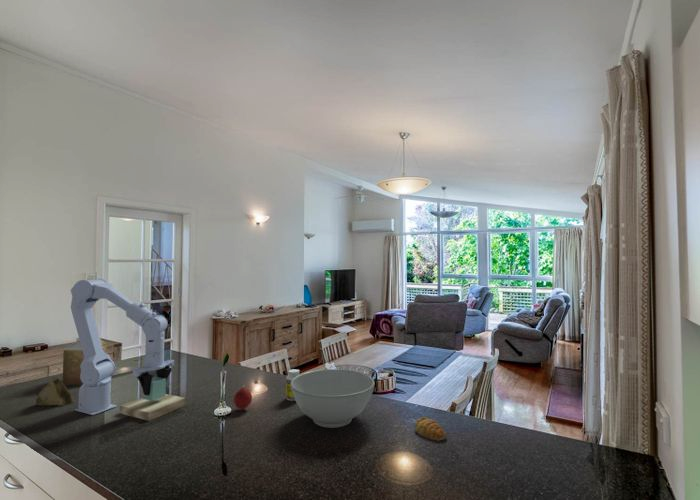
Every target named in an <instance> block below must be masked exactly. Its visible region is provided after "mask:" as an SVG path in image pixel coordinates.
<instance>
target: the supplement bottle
mask: <svg viewBox="0 0 700 500" xmlns="http://www.w3.org/2000/svg"><path fill="white" fill-rule="evenodd" d="M287 373H288V375H287V376H286V378H285V381H286V382H285V383H286V385H285V399H286V400H287V401H288V402H289V401H291V402H293V401H294V402H296V400H295V398H294V396H293V393H292V390H291V381H292V380H293V379H294V378H295V377H297V376H298V375H301V374H300V369H298V368H297V369H294V368H292V369H289V370H288V372H287Z"/></svg>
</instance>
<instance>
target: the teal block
mask: <svg viewBox="0 0 700 500" xmlns="http://www.w3.org/2000/svg"><path fill="white" fill-rule="evenodd" d="M141 391H142V394H141V395H142V396H141V398H142V399H146V400H150V401H154V400H157V399H159V398H162V397H165V396H166V394H167V393H166V391H167V381H166V378H161V377H157V376H153V378H152V381H151V389H150V395H148V396H147V395H144V393H143V389H142V390H141Z"/></svg>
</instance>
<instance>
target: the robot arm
mask: <svg viewBox="0 0 700 500" xmlns="http://www.w3.org/2000/svg"><path fill="white" fill-rule="evenodd" d="M70 294H71V304H70V309H71V314H72V318H73V320H74V321H73V322H74V325H75V328H76V331H77V336H78V337H79V340H80V343H81V347H82V350H83V354H84V360H83V361H82V363H81V365H80V368H81V374H80V379H81V381H82V383H83V385H80V387H79V390H78V403H77V404H78V408H75V411H76V412H79V413H84V414H87V415H90V416H95V415H97V414H100V413H102V412H105V411H108V410H111V409H114V408H117V405H116V404H112V403H111V394H112V393H111V391H112V390H111V389H112V387H111V385H112V384H111V383H112V376H113V375H115V373H116V369H117V368H116V363H114V361H113V360H112V359H111V356H110V354H108V353H107V352H106V353H105V352H104V351H103V348H102V344H101V341H100V339H101V338H100V334H99V330H98V328H97V323H96V319H95V316H94V313H93V309H92V308H93V306H95V304H96V303H97V302H98V301H99V300H100V299H102V300H103V299H104V300H107V301H109V302H110V303H112V304H114V305H115V306H117V307H118V308H120V309H122V310H123V311H125V316H126V318H128V319H130V320H131V321H132V322H134V323H136V324H137V325H138V326H140V327H141V330H142V331H143V334H144V335H145V349H144V351H145V355H144V356H145V358H144V359H145V360H144V365H142V366H140V367H138V368H135V369H132V377H135V378H137V381H138V382H139V383H140V386H141V388H142V389H143V393H144V395H147V396H148V395H150V389H151V381H152V378H153V377H154V375H153V374H150V373H152V372H156V377H161V378H166V382H167V380H168V378H169V376H170V374H171V373H172V370H173V368H172V367H173V366H175V360H174V359H167V360H165V335H166V334H165V330H166V329H167V328H168V326H169V323H168V322H169V321H168V319H167V318H166V317H165V316H164V315H163V314H159V315H158V313H157V312H155V311H152V310H150V309H149V308H148V307H146V304H145V303H140V302H135V303H134V302H133V301H131V300H130V299H129V298H127V296H125V295H124V294H122V293H121V292H120V291H119V290H118V289H116V288H115V287H114V286H113V284H111V283H110V282H108V281H107V280H105V279H103V278H96V279H87V280H86V279H80V280H78V281H77V282H75V284H74V285H73V287H71V288H70ZM96 363H97V364H96Z"/></svg>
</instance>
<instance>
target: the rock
mask: <svg viewBox="0 0 700 500" xmlns="http://www.w3.org/2000/svg"><path fill="white" fill-rule="evenodd" d="M62 382H63V381H61V380H60V379H59V378H58V377H53V378H52V379H51V380H50V381H49V382H47V384H46V385H45V386H43V388H42V389H41V390H40V392H39V393H38V394H37V397H36V399H35V404H36V406H37V405H38V406H50V405H58V406H61V405H62V406H66V405H70V404H73V403H75V400H74V397H73V396H72V394H71V392H70V391H69V389H68V388H67V387H66V385H64V384H63V383H62ZM72 402H73V403H72ZM69 403H70V404H69ZM58 406H57V407H58Z"/></svg>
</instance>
